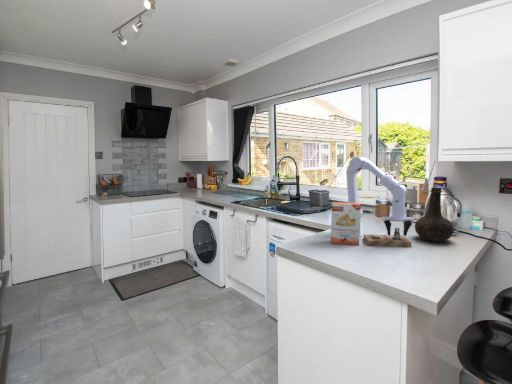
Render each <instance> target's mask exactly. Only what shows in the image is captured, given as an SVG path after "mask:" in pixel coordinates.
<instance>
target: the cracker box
mask: <svg viewBox="0 0 512 384" xmlns="http://www.w3.org/2000/svg"><path fill="white" fill-rule="evenodd" d="M361 209H362V205H361V202H359V203H349V202H338V201H337V202H336V201H332V202H331V219H330V220H331V221H330V223H331V224H330V244H339V245H349V246H350V245H351V246H352V245H354V246H360V238H361V237H360V234H361V229H360V216H361ZM361 217H362V216H361Z"/></svg>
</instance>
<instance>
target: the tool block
mask: <svg viewBox="0 0 512 384" xmlns="http://www.w3.org/2000/svg"><path fill="white" fill-rule="evenodd" d="M362 237H363V238H362V239H363V240H364V242H365V243H366V244H367V246H368V247H369V246H371V247H395V248H397V247H399V248H412V241H411V240H410V239H408V238H407V237H406V236H404V235H400V240H394V234H390V235H388V234H369V233H368V234H365V233H363V236H362Z"/></svg>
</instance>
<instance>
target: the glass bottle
mask: <svg viewBox="0 0 512 384" xmlns="http://www.w3.org/2000/svg"><path fill="white" fill-rule="evenodd" d="M442 188H443V187H438V186H437V187H436V186H434V187H431V188H430V189H431V190H429V192H430V198H429V199H430V200H429V204H428V208H427V211H426V213H425V215H424V216H421V217H420V218H418V219H417V220H416V221H415V224H414V230H415V232H416V234H417V236H419V238H421V239H422V240H424V241H428V242H431V243H432V242H433V243H441V242H446V241H447V240H449V239H451V237H452V236H453V235H454V233H455V226H454V224H453V223H452V222H451V220H449V219H448V218H445V217H443V215H442V208H441V207H442V204H441V203H442V202H441V201H442V200H441V197H442V195H441V194H442V193H443V192H444V191H443V190H442Z"/></svg>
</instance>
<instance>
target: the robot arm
mask: <svg viewBox="0 0 512 384" xmlns="http://www.w3.org/2000/svg"><path fill="white" fill-rule="evenodd" d="M348 164H349V165H348V166H347V169H346V173H345V174H346V184H347V185H346V186H347V187H346V188H347V195H348V196H347V197H348V198H347V200H348V203H360V201H359V188H358V178H357V177H358V176H357V175H358V174H359V173H360V171H362V170H366V171H369V172H371V173H372V174H373V175H374V176H375V177H377V178H378V179H379V180H380V183H381V184H382V186H384V187H385V188H386V189H387V190H388V191H389V192H390V194H391V195H392V203H391V204H392V205H391V216H381V221H382V222H383V223H384V225H385V228H386V231H387V232H386V233H387V235H391V227H392V222H402V223H403V233H402V234H403V235H402V236H404V237H406V236H407V235H408V231H409V230H410V228H411V226H412V225H413V223H414V220H415V218H414V217H412V216H411V217H408V216H405V209H406V194H408V188H407V187H406V186H405V184H402V183H401V182H400V181H397V179H395V178H394V176H393V175H390V174H385V172H383V171H382V170H381V169H380V168H379V167H378V166H376V164H374V163H373V162H372V160H370V159H368V157H366V156H354V157H352V158H351V159H350V160H349V163H348ZM363 215H364V212H363V209H362V208H361V216H360V230H361V228H362V227H361V226H362V225H361V223H362V217H363ZM361 237H363V236H362V234H361V233H360V237H359V238H361Z"/></svg>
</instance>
